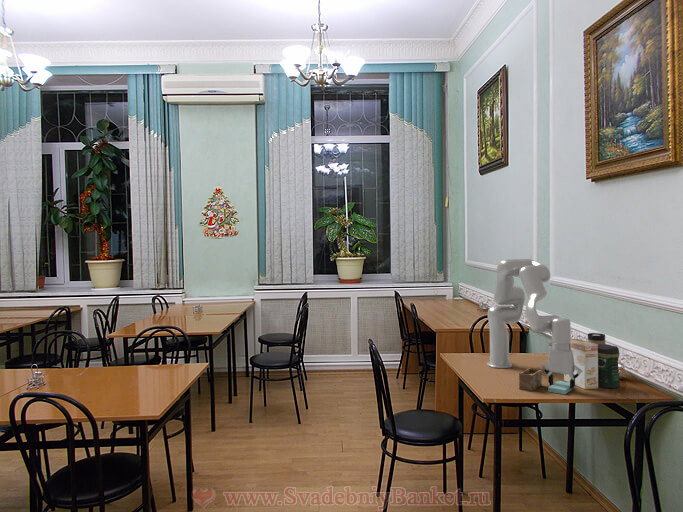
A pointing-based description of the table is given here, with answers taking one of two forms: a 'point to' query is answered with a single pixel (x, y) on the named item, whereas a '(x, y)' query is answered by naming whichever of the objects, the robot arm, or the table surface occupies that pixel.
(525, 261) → the robot arm
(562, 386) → the lid
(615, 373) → the coffee jar
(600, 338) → the travel mug
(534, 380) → the tea box
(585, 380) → the coffeecake box
